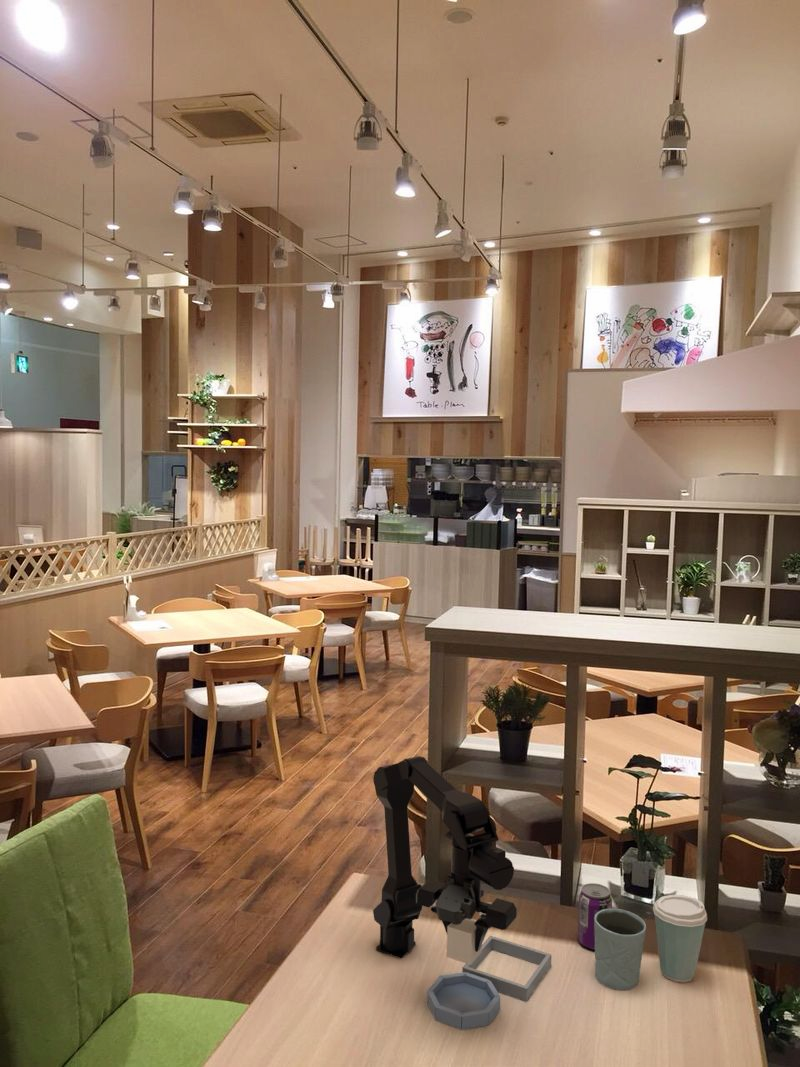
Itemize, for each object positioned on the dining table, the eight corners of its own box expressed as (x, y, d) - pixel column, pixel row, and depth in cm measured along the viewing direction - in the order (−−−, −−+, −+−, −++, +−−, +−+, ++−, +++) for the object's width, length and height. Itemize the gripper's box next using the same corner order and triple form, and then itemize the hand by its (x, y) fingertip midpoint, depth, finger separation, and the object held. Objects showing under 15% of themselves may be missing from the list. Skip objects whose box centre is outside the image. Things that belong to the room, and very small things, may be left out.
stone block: (446, 956, 159) (447, 926, 159) (458, 944, 163) (458, 914, 163) (470, 964, 157) (471, 933, 156) (481, 952, 161) (482, 921, 160)
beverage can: (611, 954, 179) (613, 899, 178) (577, 950, 180) (579, 896, 179) (610, 936, 186) (611, 884, 185) (577, 932, 187) (578, 880, 186)
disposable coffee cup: (646, 980, 170) (649, 908, 169) (654, 953, 179) (656, 885, 178) (702, 994, 165) (704, 921, 164) (707, 966, 175) (710, 896, 174)
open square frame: (462, 979, 169) (462, 967, 169) (489, 946, 181) (490, 935, 181) (526, 1001, 162) (527, 989, 162) (551, 966, 174) (551, 954, 174)
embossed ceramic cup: (591, 961, 176) (593, 905, 176) (641, 966, 174) (643, 911, 174) (593, 989, 166) (595, 931, 166) (646, 996, 165) (648, 937, 164)
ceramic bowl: (417, 1013, 158) (417, 1000, 158) (448, 978, 169) (448, 966, 169) (480, 1036, 152) (480, 1023, 152) (508, 998, 163) (508, 986, 163)
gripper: (402, 871, 156) (401, 952, 158) (494, 898, 147) (492, 983, 148) (430, 849, 166) (428, 925, 167) (518, 872, 157) (516, 953, 158)
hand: (464, 946), depth 160 cm, fingers closed on stone block, 5 cm apart
